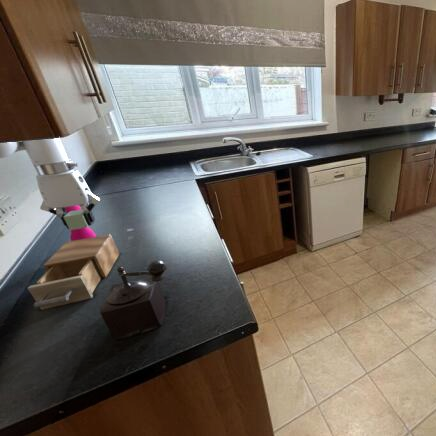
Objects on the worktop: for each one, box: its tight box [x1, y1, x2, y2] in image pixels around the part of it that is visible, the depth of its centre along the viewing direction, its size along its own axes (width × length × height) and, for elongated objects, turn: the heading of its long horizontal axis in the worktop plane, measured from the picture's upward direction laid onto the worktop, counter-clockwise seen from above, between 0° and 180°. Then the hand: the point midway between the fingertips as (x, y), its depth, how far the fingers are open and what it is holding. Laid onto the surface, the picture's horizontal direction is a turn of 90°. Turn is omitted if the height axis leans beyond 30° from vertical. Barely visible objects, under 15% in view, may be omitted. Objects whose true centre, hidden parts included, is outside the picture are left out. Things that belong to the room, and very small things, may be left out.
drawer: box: [27, 258, 103, 310], centre depth 77 cm, size 18×11×8 cm, turn 21°
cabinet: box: [43, 234, 120, 279], centre depth 88 cm, size 15×13×10 cm
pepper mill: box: [66, 205, 97, 241], centre depth 101 cm, size 7×7×20 cm
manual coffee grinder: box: [99, 260, 167, 341], centre depth 67 cm, size 16×11×18 cm
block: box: [64, 209, 90, 231], centre depth 83 cm, size 4×4×4 cm
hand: (81, 224), depth 84 cm, fingers closed on block, 4 cm apart
